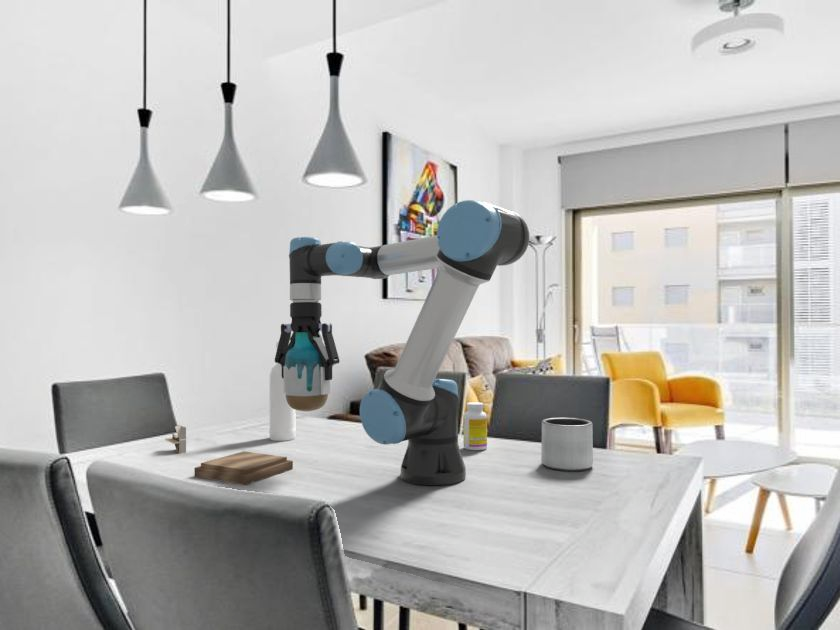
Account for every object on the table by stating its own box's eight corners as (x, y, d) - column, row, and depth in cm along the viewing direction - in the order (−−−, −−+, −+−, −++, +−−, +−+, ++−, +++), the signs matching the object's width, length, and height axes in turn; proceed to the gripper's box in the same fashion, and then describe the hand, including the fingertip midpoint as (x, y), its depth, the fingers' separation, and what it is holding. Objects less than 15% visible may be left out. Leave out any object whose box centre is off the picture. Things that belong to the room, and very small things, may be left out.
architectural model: (173, 456, 164) (173, 428, 164) (164, 451, 169) (164, 425, 169) (186, 454, 166) (186, 427, 166) (177, 450, 171) (177, 424, 171)
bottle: (287, 441, 180) (287, 341, 180) (264, 440, 182) (264, 341, 182) (300, 436, 188) (300, 340, 188) (277, 435, 190) (277, 340, 190)
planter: (570, 458, 159) (570, 415, 159) (604, 468, 148) (603, 423, 148) (531, 463, 153) (531, 419, 154) (563, 474, 142) (562, 427, 142)
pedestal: (292, 468, 148) (292, 456, 148) (245, 485, 133) (245, 471, 133) (243, 461, 155) (243, 450, 155) (194, 476, 141) (194, 463, 141)
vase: (318, 415, 139) (318, 332, 140) (276, 413, 142) (276, 332, 142) (335, 408, 150) (335, 331, 150) (296, 407, 152) (295, 331, 152)
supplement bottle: (491, 449, 170) (491, 403, 170) (473, 452, 166) (473, 405, 166) (476, 445, 175) (476, 401, 175) (458, 447, 171) (458, 402, 171)
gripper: (353, 300, 144) (355, 393, 144) (279, 303, 155) (280, 389, 154) (335, 300, 137) (336, 397, 137) (258, 302, 148) (259, 392, 148)
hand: (306, 393), depth 146 cm, fingers closed on vase, 10 cm apart
